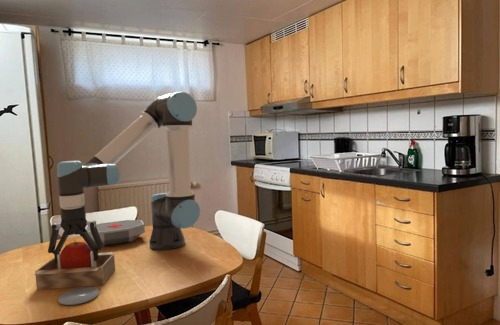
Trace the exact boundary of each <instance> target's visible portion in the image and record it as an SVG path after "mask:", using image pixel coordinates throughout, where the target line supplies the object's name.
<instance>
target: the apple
mask: <svg viewBox="0 0 500 325" xmlns="http://www.w3.org/2000/svg"><path fill="white" fill-rule="evenodd" d="M60 252H61V254H60V258H59V259H60V263H61V268H62V269H72V268H88V267H91V257H90V253H91V252H92V250H91V249H90V247H89V246H88V244H87V243H86V242H85V241H84V242H83V241H76V240H74V241H73V242H70V243H68V244H65V245H64V246H63V247H62V249H61V251H60Z"/></svg>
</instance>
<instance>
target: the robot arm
mask: <svg viewBox="0 0 500 325" xmlns="http://www.w3.org/2000/svg"><path fill="white" fill-rule="evenodd" d="M197 112H198V107H197V101H196V100H195V99H194V97H192V95H191V94H189V93H187V92H185V91H174V92H173V91H172V92H170V93H165V94H162V95H160V96H158V97H156V98H155V99H154V100H153V101H152V102H151V103H150V104H149V105H147V106H146V108H144V109H143V110H141V112H140V113H139V114H140V116H139V117H137V119H135V120H134V121H133V122H132V123H131V124H129V125H128V126H127V127H126V128H125V129H123V131H121V132H120V133H119V134H118V135H117V136H116V137H114V138H113V139H112V140H111V141H109V143H108V144H107V145H105V146H104V147H103V148H102V149H100V151H98V153H96V154H95V155H94V156H92V157H91V158H90V159H89V160H88V161H87V162H83V163H82V161H81V160H66V161H64V160H63V161H61V162H60V161H59V162H58V163H57V165H56V171H57V172H56V173H57V174H56V177H57V185H58V186H57V187H58V195H59V196H58V199H59V207H60V210H59V211H60V220H61V222H55V223H53V224H51V235H50V240H49V243H48V244H49V245H48V250H47V253H48V254H53V255H54V258H55V263H58V269H62V268H61V263H60V259H59V258H60V254H61V251H62V250H63V248H64V246H65V244H66V241H67V239H68V237H69V236H72V235H77V236H78V235H79V236H80V237H81V238H82V239H83V240H84V242H85V243H86V244H87V245H88V246H89V247H90V249H91V250H92V252H91V253H90V257H91V267H97V266H96V261H97V260H98V259H99V256H98V253H99V251H101V250H103V249H104V245H103V243H102V240H101V238H100V235H99V233H98V230H97V228H96V224H97V221H96V220H93V221H88V220H87V218H86V217H87V215H86V206H85V190H84V189H85V188H91V187H92V188H93V187H94V188H95V187H101V186H102V187H104V186H111V185H117V184H118V183H119V181H120V177H121V176H120V175H121V174H120V169H119V167H118V165H117V163H118V162H119V161H121V160H122V158H124V157H125V156H126V155H127V154H128V153H129V152H130V151H131V150H133V149H134V148H135V147H136V146H137V145H138V144H140V143H141V141H143V140H144V139H145V138H146V137H147V136H149V134H151V133H152V132H153V131H157V130H159V129H160V128H161V127H162V128H163V129H165V131H166V141H167V144H166V145H167V164H168V165H167V168H168V191H167V192H160V193H155V194H152V195H151V197H150V205H151V206H150V209H151V221H152V229H151V235H150V238H149V243H148V244H149V248H151V249H152V250H158V251H163V250H164V251H167V250H173V249H177V248H180V247H182V246H184V245H185V244H186V240H185V238H186V237H185V234H184V233H183V230H182V229H188V228H191V227H193V226H194V225H196V222H198V221H199V218H200V216H201V206H200V205H199V204H198V203H197V201H196V197H195V196H196V195H195V192H194V191H193V190H192V188H191V187H192V186H191V164H190V162H191V161H190V160H191V159H190V158H191V157H190V129H191V128H193V119H194V118H195V117H196V115H197ZM85 227H89V228H90V230H91V233H92V236H93V238H94V241H95V242H94V241H93V240H92V238H91V237H90V235H89V234H88V232H87V230H86V229H85ZM60 229H63V233H62V234H61V237H60V239H59V238H58V237H59V233H60ZM58 239H59V241H58ZM57 241H58V242H57ZM95 243H96V244H95Z"/></svg>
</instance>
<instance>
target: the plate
mask: <svg viewBox="0 0 500 325" xmlns="http://www.w3.org/2000/svg"><path fill="white" fill-rule="evenodd" d="M97 296H99V289H98V288H97V287H95V286H81V287H75V288H73V289H70V290H67V291H65V292H63V293H61V294H60V295H59V296H58V299H57V300H58V303H59V304H60V305H63V306H74V305H81V304H84V303H87V302H89V301H92V300H93V299H95V298H96V297H97Z"/></svg>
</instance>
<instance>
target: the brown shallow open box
mask: <svg viewBox="0 0 500 325" xmlns="http://www.w3.org/2000/svg"><path fill="white" fill-rule="evenodd" d="M98 256H99V259H98V260H97V261H96V266H97V267H88V268H72V269H58V263H55V257H53V258H51V259H50V260H49V261H47V262H46V263H44V264H43V265H42V266H40V267H39V268H37V269H36V270H35V272H34V274H33V275H34V276H35V284H36V286H35V287H36V290H50V289H60V288H61V289H64V288H80V287H95V286H104V285H105V284H106V283H107V281H109V279H110V278H111V276H113V274H114V273H115V271H116V262H115V261H116V260H115V253H114V251H113V252H112V251H111V252H109V251H108V252H98Z"/></svg>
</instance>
